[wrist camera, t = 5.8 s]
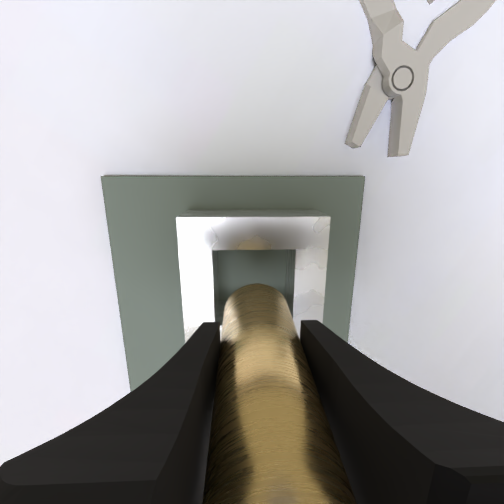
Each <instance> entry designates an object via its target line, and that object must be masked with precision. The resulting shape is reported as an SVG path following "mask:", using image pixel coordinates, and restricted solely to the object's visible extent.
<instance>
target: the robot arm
mask: <svg viewBox="0 0 504 504" xmlns="http://www.w3.org/2000/svg"><path fill="white" fill-rule="evenodd" d="M300 342H301V345H302V347H303V350H304V353H305V356H306V359H307V362H308V365H309V368H310V370H311V373H312V376H313V379H314V382H315V385H316V388H317V391H318V393H319V396H320V399H321V402H322V405H323V408H324V411H325V414H326V416H327V419H328V422H329V425H330V428H331V431H332V434H333V437H334V439H335V442H336V445H337V448H338V451H339V454H340V457H341V460H342V462H343V465H344V468H345V471H346V474H347V477H348V480H349V483H350V485H351V488H352V491H353V494H354V497H355V500H356V503H357V504H504V422H502V421H499V420H496V419H493V418H491V417H488V416H486V415H483V414H480V413H478V412H475V411H473V410H470V409H468V408H465V407H463V406H460V405H458V404H456V403H453V402H451V401H448V400H446V399H444V398H442V397H440V396H438V395H435V394H433V393H431V392H429V391H427V390H425V389H423V388H421V387H419V386H417V385H415V384H413V383H411V382H409V381H407V380H405V379H403V378H401V377H400V376H398V375H396V374H394V373H392V372H391V371H389V370H387V369H386V368H384V367H382V366H381V365H379V364H377V363H376V362H374V361H373V360H371V359H370V358H368V357H367V356H365V355H364V354H362V353H361V352H359V351H358V350H357V349H355V348H354V347H352V346H351V345H350V344H348V343H347V342H346V341H344V340H343V339H342V338H340V337H339V336H338V335H336V334H335V333H334V332H333V331H331V330H330V329H329V328H327V327H326V326H325V325H323V324H322V323H321V322H319V321H318V320H301V326H300ZM220 343H221V342H220V322H203V323H202V324H201V325H200V326H199V327H198V329H197V330H196V331H195V332H194V333H193V335H192V336H191V337H190V338H189V339H188V340H187V342H186V343H185V344H184V345H183V346H182V347H181V348H180V349H179V350H178V351H177V353H176V354H175V355H174V356H173V357H172V358H171V359H170V360H169V361H168V362H166V363H165V364H164V365H163V366H162V367H161V368H160V369H159V370H158V371H157V372H156V373H155V374H154V375H152V376H151V377H150V378H149V379H147V380H146V381H145V382H144V383H142V384H141V385H140V386H139V387H137V388H136V389H135V390H133V391H132V392H130V393H129V394H127V395H126V396H124V397H123V398H121V399H120V400H119V401H117V402H116V403H114V404H113V405H111V406H110V407H108V408H107V409H105V410H104V411H102V412H100V413H99V414H97V415H95V416H94V417H92V418H90V419H89V420H87V421H85V422H83V423H82V424H80V425H78V426H76V427H74V428H73V429H71V430H69V431H67V432H65V433H63V434H62V435H60V436H58V437H56V438H54V439H52V440H50V441H48V442H46V443H44V444H42V445H40V446H37V447H35V448H33V449H31V450H29V451H27V452H25V453H23V454H21V455H19V456H17V457H15V458H13V459H11V460H8V461H6V462H4V463H3V464H2V465H1V467H0V504H202V501H203V492H204V483H205V475H206V466H207V457H208V448H209V439H210V430H211V422H212V413H213V404H214V395H215V386H216V377H217V369H218V361H219V352H220Z"/></svg>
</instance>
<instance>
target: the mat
mask: <svg viewBox="0 0 504 504" xmlns="http://www.w3.org/2000/svg"><path fill="white" fill-rule="evenodd" d="M101 182H102V189H103V196H104V203H105V210H106V218H107V225H108V232H109V239H110V246H111V253H112V261H113V268H114V275H115V282H116V289H117V297H118V304H119V311H120V318H121V325H122V332H123V340H124V347H125V354H126V361H127V368H128V375H129V383H130V390H131V392H132V391H133V390H135V389H136V388H137V387H139V386H140V385H141V384H142V383H144V382H145V381H146V380H147V379H149V378H150V377H151V376H152V375H154V374H155V373H156V372H157V371H158V370H159V369H160V368H161V367H162V366H163V365H164V364H165V363H166V362H168V361H169V360H170V359H171V358H172V357H173V356H174V355H175V354H176V353H177V351H178V350H179V349H180V348H181V347H182V346H183V345H184V344H185V334H184V320H183V306H182V292H181V278H180V264H179V251H178V237H177V223H176V217H178V216H179V215H180V214H182V213H183V212H185V211H186V210H242V209H316V210H318V211H320V212H322V213H324V214H326V215H328V216H330V217H331V218H330V231H329V244H328V258H327V271H326V284H325V297H324V310H323V323H322V324H323V325H325V326H326V327H327V328H329V329H330V330H331V331H333V332H334V333H335V334H336V335H338V336H339V337H340V338H342V339H343V340H344V341H346V342H347V343H348V333H349V324H350V314H351V305H352V295H353V286H354V277H355V267H356V258H357V248H358V239H359V229H360V220H361V210H362V201H363V192H364V182H365V176H101ZM217 262H218V291H219V301H227V300H228V298H229V297H230V296H231V294H232V293H233V292H234V291H236V290H237V289H239V288H240V287H242V286H245V285H248V284H254V283H260V284H266V285H269V286H272V287H273V288H275V289H277V290H278V291H279V292H280V293H281V294H282V295H283V296H284V294H285V266H286V249H281V250H217Z"/></svg>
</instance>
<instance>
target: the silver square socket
mask: <svg viewBox="0 0 504 504" xmlns="http://www.w3.org/2000/svg"><path fill="white" fill-rule="evenodd" d="M330 218H331V217H330V216H328V215H326V214H324V213H322V212H320V211H318V210H316V209H242V210H186V211H185V212H183V213H182V214H180V215H179V216H178V217H176V223H177V237H178V251H179V264H180V278H181V292H182V306H183V320H184V334H185V343H186V342H187V340H188V339H189V338H190V337H191V336H192V335H193V333H194V332H195V331H196V330H197V329H198V327H199V326H200V325H201V324H202V323H203V322H220V342H221V333H222V325H223V316H224V308H225V304H226V302H227V301H219V291H218V262H217V250H281V249H286V266H285V294H284V298H285V300H286V302H287V304H288V307H289V310H290V313H291V316H292V319H293V322H294V324H295V327H296V330H297V333H298V336H299V339H300V326H301V320H318V321H319V322H321V323H323V310H324V297H325V284H326V271H327V258H328V244H329V231H330Z"/></svg>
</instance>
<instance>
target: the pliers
mask: <svg viewBox="0 0 504 504" xmlns="http://www.w3.org/2000/svg"><path fill="white" fill-rule="evenodd" d="M359 1H360V4H361V6H362V8H363V11H364V13H365V15H366V18H367V20H368V24H369V29H370V34H371V39H372V44H373V49H372V54H373V57H374V60H375V62H376V66H375V68H374V70H373V71H372V73H371V75H370V77H369V79H368V80H367V82H366V84H365V86H364V89H363V92H362V95H361V98H360V100H359V103H358V106H357V109H356V112H355V115H354V118H353V121H352V124H351V127H350V130H349V133H348V136H347V139H346V142H345V144H346V145H348V146H350V147H351V148H358V147H361V145H362V143H363V142H364V140H365V138H366V136H367V135H368V133H369V131H370V129H371V128H372V126H373V124H374V122H375V121H376V119H377V117H378V116H379V114H380V112H381V110H382V109H383V107H384V105H385V103H386V102H387V100H392V99H393V101H392V103H391V118H390V131H389V144H388V157H395V156H405V155H408V154H409V151H410V147H411V144H412V141H413V137H414V134H415V130H416V127H417V123H418V120H419V116H420V113H421V109H422V106H423V102H424V99H425V95H426V90H427V80H428V71H429V64H430V63H431V61H432V59H433V58H434V57H435V56H436V55H437V54H438V53H439V52H440V51H441V50H442V49H443V48H444V47H445V46H446V45H447V44H448V43H449V42H450V41H451V40H452V39H454V38H455V37H457V36H458V35H459V34H461V33H462V32H464V31H465V30H467V29H468V28H470V27H471V26H473V25H474V24H475V23H476V22H477V21H478V20H479V19H480V18H481V17H482V16H483V15H484V14H485V13H486V12H487V11H488V10H489V8H490V7H491V6H492V5H493V3H494V2H495V1H496V0H461V1H459V2H458V3H457V4H456V5H454V6H453V7H452V8H450V9H449V10H448V11H446V12H445V13H444V14H442V15H441V16H440V17H438V18H437V19H436V20H434V21H433V22H432V23H431V24H430V26H429V27H428V29H427V31H426V33H425V34H424V36H423V38H422V39H421V41H420V43H419V45H418V46H417V48H416V50H415V49H413V48H412V47H410V46H409V45H408V44H406V43H405V42H404V41H402V35H403V23H404V21H403V19H402V17H401V16H400V14H399V12H398V11H397V9H396V6H395V4H394V1H393V0H359ZM433 1H434V0H427V2H428V3H429V5H430V4H431V3H432V2H433Z"/></svg>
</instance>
